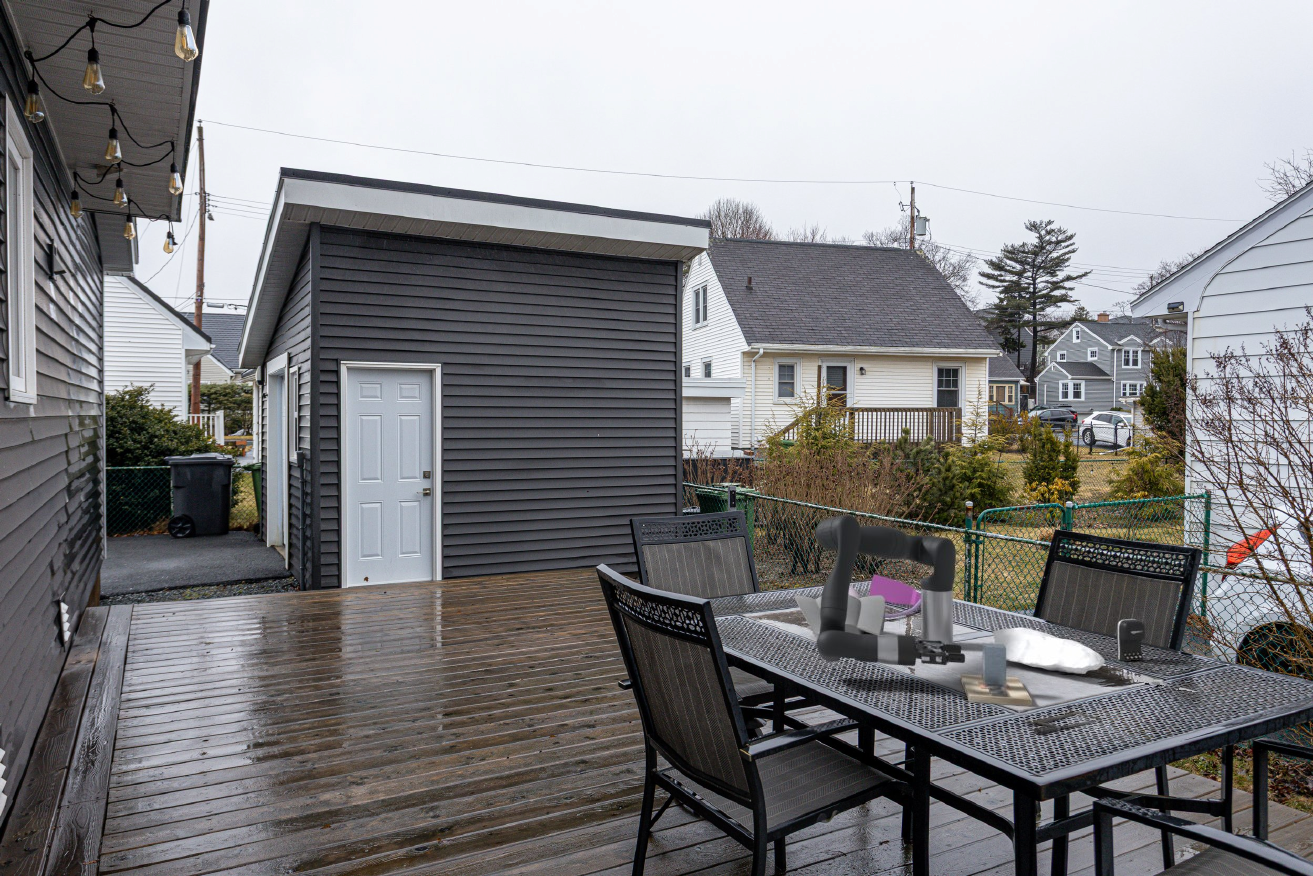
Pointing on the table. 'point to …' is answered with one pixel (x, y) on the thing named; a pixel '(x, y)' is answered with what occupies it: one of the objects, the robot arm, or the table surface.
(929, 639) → the robot arm
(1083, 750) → the table surface
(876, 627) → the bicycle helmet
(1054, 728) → the hacksaw
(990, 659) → the link block
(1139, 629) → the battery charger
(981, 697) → the tan flat wooden board
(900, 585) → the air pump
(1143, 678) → the pliers
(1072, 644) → the crumpled cloth
